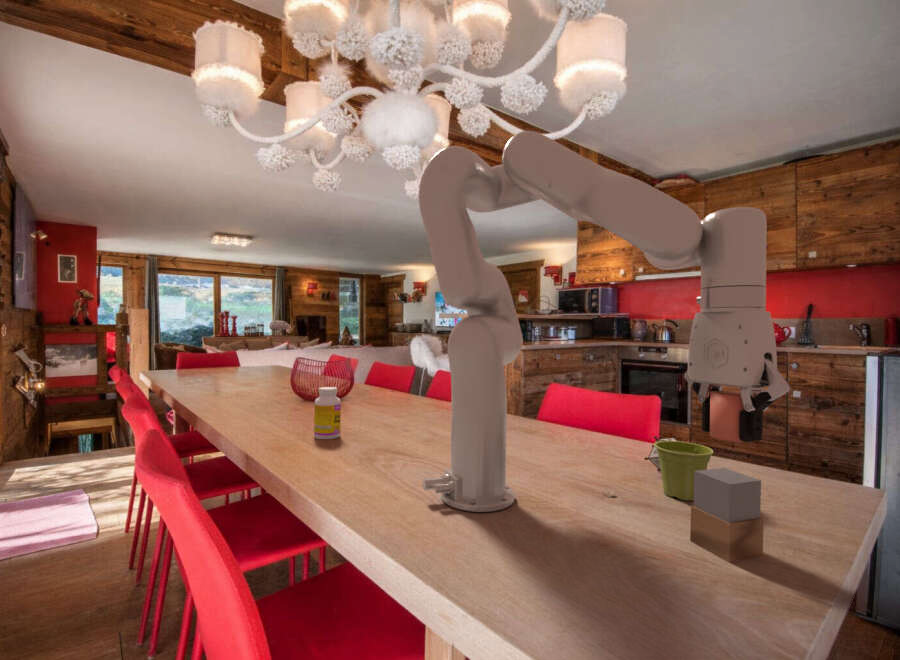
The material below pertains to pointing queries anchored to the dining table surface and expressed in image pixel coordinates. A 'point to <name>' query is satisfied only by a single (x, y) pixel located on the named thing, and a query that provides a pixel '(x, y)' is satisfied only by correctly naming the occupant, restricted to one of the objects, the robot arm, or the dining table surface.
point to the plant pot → (681, 466)
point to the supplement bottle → (327, 414)
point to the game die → (653, 454)
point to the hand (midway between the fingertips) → (730, 434)
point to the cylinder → (725, 415)
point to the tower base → (727, 536)
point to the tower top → (727, 494)
